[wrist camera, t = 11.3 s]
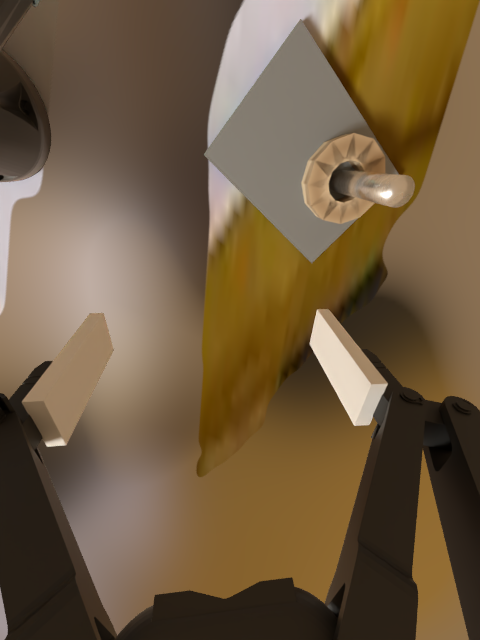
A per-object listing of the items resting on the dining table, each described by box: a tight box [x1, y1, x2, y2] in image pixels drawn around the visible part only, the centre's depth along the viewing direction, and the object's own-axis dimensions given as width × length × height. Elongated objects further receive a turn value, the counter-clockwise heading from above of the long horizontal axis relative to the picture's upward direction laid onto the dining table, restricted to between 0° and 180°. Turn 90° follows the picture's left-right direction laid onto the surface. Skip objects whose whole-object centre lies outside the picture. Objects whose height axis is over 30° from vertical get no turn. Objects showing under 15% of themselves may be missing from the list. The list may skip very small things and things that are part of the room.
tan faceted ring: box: [301, 133, 385, 224], centre depth 38 cm, size 11×11×3 cm
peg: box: [329, 170, 415, 207], centre depth 33 cm, size 3×3×15 cm
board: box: [204, 19, 399, 263], centre depth 39 cm, size 24×18×2 cm
